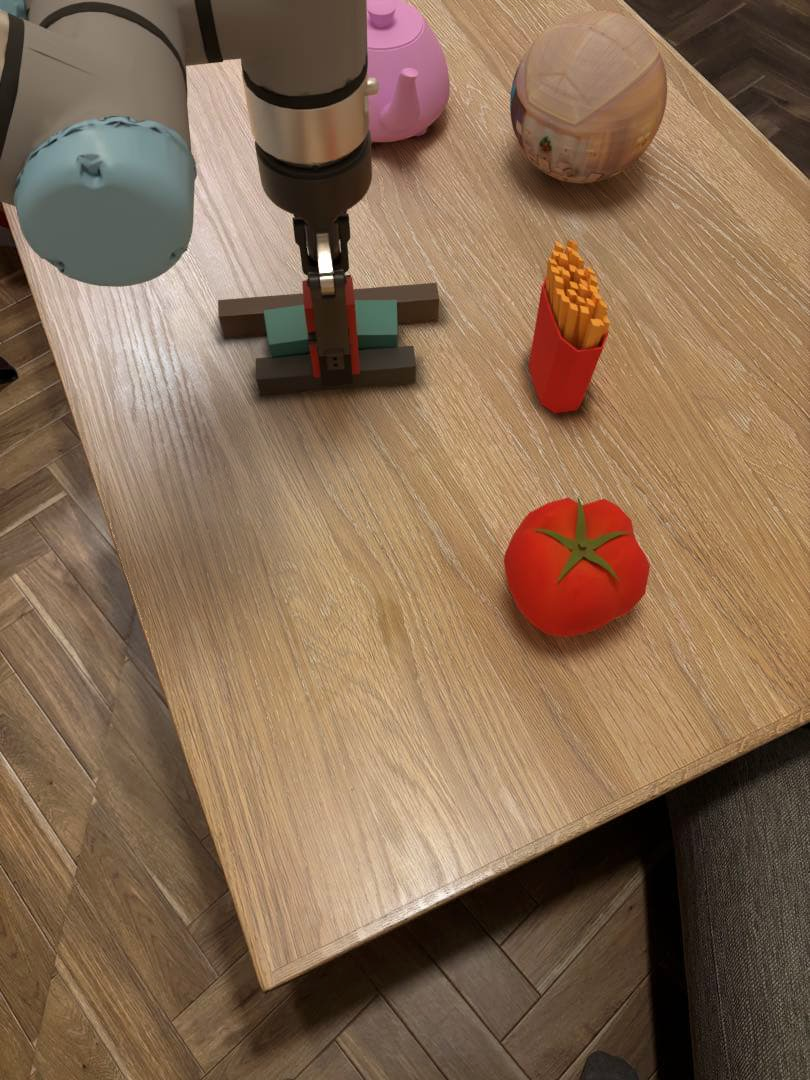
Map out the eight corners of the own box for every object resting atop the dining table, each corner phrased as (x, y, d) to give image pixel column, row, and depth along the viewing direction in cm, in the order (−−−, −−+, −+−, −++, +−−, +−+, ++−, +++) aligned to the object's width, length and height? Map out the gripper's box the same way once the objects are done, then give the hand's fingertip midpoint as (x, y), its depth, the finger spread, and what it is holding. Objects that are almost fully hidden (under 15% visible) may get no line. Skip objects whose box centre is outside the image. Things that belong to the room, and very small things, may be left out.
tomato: (480, 624, 67) (490, 577, 60) (528, 511, 72) (544, 455, 64) (609, 677, 65) (638, 636, 58) (650, 558, 70) (682, 505, 62)
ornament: (614, 107, 95) (649, -35, 82) (666, 201, 89) (714, 63, 75) (484, 130, 93) (498, -12, 80) (528, 227, 87) (552, 90, 74)
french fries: (592, 416, 76) (626, 316, 65) (545, 424, 76) (571, 324, 64) (563, 337, 80) (591, 228, 69) (519, 343, 80) (539, 235, 68)
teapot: (475, 171, 91) (486, 61, 80) (344, 196, 89) (336, 87, 78) (421, 54, 99) (424, -60, 88) (301, 75, 97) (289, -39, 87)
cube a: (318, 367, 79) (314, 338, 75) (274, 373, 78) (268, 344, 75) (311, 333, 80) (308, 303, 77) (269, 340, 80) (263, 310, 77)
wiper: (416, 386, 78) (418, 300, 68) (260, 399, 77) (239, 314, 67) (412, 359, 79) (414, 271, 69) (259, 372, 78) (239, 285, 69)
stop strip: (438, 321, 81) (439, 298, 79) (224, 338, 80) (218, 316, 77) (435, 305, 82) (436, 282, 79) (223, 322, 81) (217, 299, 78)
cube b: (397, 363, 79) (397, 334, 75) (353, 364, 79) (351, 335, 75) (396, 329, 81) (396, 299, 77) (354, 330, 81) (352, 300, 77)
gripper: (382, 217, 52) (387, 437, 73) (359, 49, 59) (369, 293, 80) (257, 226, 52) (297, 444, 72) (249, 56, 59) (288, 299, 80)
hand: (335, 364), depth 76 cm, fingers closed on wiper, 3 cm apart
